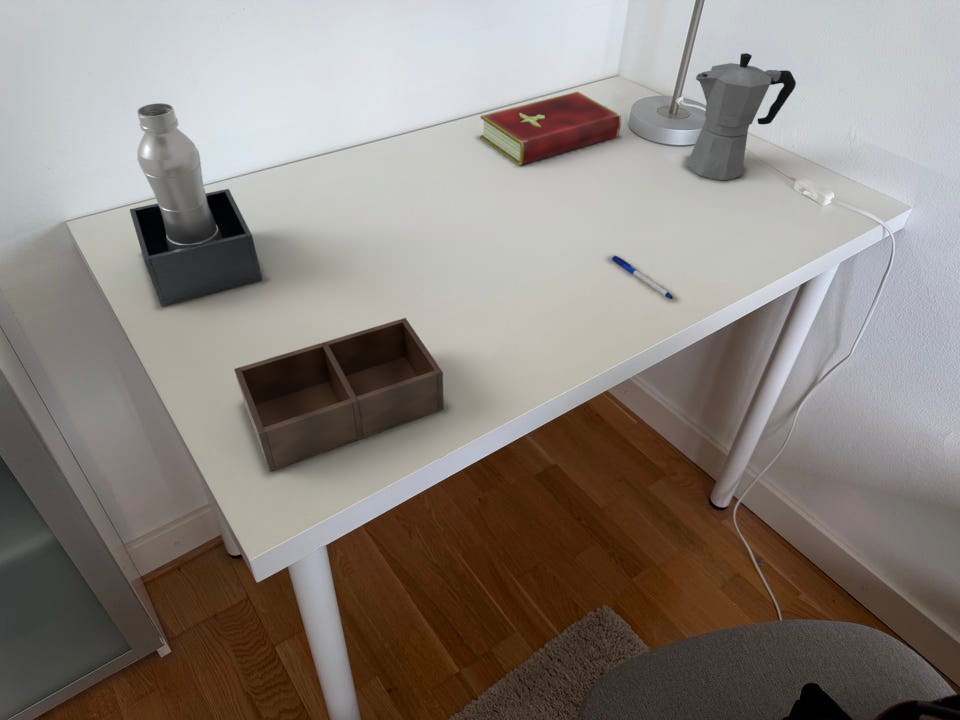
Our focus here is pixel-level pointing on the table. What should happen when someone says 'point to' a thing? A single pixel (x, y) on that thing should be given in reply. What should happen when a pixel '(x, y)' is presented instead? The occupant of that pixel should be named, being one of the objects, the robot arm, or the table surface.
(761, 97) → the coffeepot
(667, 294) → the ballpoint pen
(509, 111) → the hardcover book
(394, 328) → the divided box
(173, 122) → the silver metal bottle
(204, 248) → the dark grey open box
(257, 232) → the table surface
